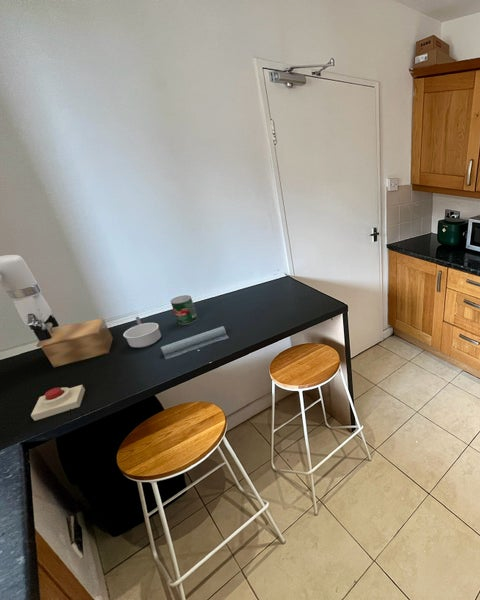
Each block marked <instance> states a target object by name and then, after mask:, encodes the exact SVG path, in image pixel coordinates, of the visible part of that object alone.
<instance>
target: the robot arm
mask: <svg viewBox="0 0 480 600" xmlns="http://www.w3.org/2000/svg"><path fill="white" fill-rule="evenodd" d="M0 285H1V286H2V288H3V290H4V291H5V293H6V294H7V296H8V297H9V299H10V300H12V301H13V304H14V306H15V310H16V311H17V313H18V315H19V316H20V318H21V320H22V322H23V323H24V325H25V326H26V327H28V328H30V330H31V331H32V332H33V333H34V335H35V337H36V338H37V339H38V342H39V341H43V340H47V339H51V338H52V336H51V335H50V333H49V331H48V330H47V328H46V329H45V324H46V323H52V324H53V325H52V328H56V327H60V325H59V322H58V321H57V318H56V317H55V316H54V314H53V313H52V309H51V307H50V305H49V303H48V302H47V300H46V299H45V297H44V296H43V295H42V293H43V290H42V289H41V287H40V285H39V283H38V282H37V280H36V277H34V275H33V273H32V271H31V270H30V268H29V266H28V264H27V263H26V261H25V259H24V258H23V257H22V256H21V255H18V254H5V255H1V256H0Z"/></svg>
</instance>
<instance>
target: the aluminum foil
mask: <svg viewBox="0 0 480 600" xmlns="http://www.w3.org/2000/svg"><path fill="white" fill-rule="evenodd" d="M227 339H230V337H229V336H228V334H227V330H226V328H225V326H224V325H222V326H219V327H216V328H214V329H211V330H207V331H204V332H202V333H199V334H195V335H192V336H189V337H186V338H184V339H181V340H178V341H175V342H172V343H168V344H165V345H163V346H161V347H160V350H161V353H162V355H163V356H164V358H165V360H169V359H171V358H175V357H179V356H181V355H183V354H186V353H189V352H191V351H194V350H197V349H198V350H199V349H201V348H203V347H206V346H208V345H210V344H214V343H216V342H221V341H224V340H227Z"/></svg>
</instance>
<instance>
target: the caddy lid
mask: <svg viewBox="0 0 480 600" xmlns="http://www.w3.org/2000/svg"><path fill="white" fill-rule="evenodd" d="M103 321H105V319H104V318H103V317H102V318H98V319H92V320H86V321H82V322H77V323H73V324H66V325H62V326H58V327H54V328H52V325H53V324H52V323H46V324H44V326H45V329H46V328H47V330H48V331H49V333H50V335H51V336H52V338H51V339H47V340H43V341H39V340H38V342H37V344H36V348H40V347H42V346H45V345H50V344H55V343H59V342H64V341H69V340H73V339H78V338H82V337H87V336H92V335H96V334H99V332H100V329H101V326H102V323H103Z"/></svg>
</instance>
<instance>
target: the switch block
mask: <svg viewBox="0 0 480 600" xmlns="http://www.w3.org/2000/svg"><path fill="white" fill-rule="evenodd" d="M60 388H61V389H62V391H63V392H64V393H63V394H62V395H61V396H59V397H57V398H55V399H52V400H48V399H47V398H46V396H45V394H44V395H42V396H39V397H38V400H37V402H36V404H35V406H34V408H33V410H32V412H31V414H30V417H31V418H32V420H33V421H38V420H42V419H45V418H48V417H51V416H55V415H57V414H61V413H64V412H67V411H71V410H74V409H76V408H77V409H78V408H80V407H81V405H82V401H83V397H84V395H85V391H86V389H85V387H84V385H83V384H80V385H76V386H73V387H70V388H69V387H67V386H66V387H60ZM70 409H71V410H70Z"/></svg>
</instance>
